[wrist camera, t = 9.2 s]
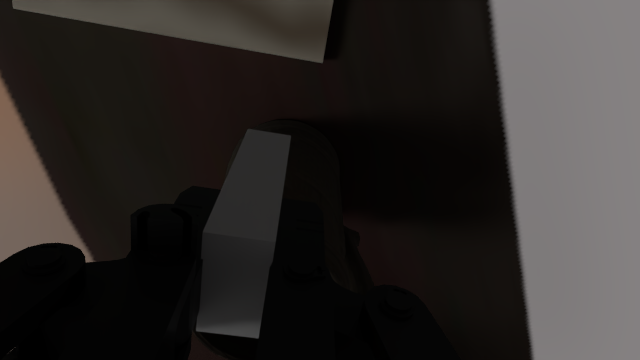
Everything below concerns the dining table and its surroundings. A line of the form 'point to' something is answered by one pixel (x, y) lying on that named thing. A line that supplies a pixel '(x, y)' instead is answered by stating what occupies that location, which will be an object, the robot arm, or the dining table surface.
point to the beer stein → (323, 189)
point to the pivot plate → (210, 21)
